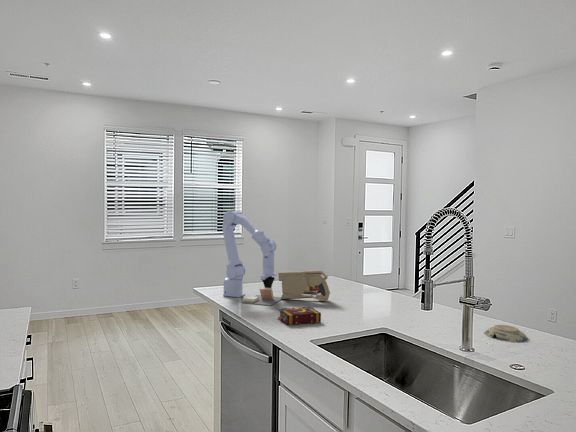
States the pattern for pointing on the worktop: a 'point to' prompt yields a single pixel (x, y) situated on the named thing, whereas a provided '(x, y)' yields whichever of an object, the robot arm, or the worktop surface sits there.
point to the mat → (265, 301)
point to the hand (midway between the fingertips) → (267, 291)
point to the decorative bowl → (506, 333)
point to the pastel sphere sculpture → (312, 289)
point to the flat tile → (250, 299)
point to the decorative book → (299, 315)
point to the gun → (303, 284)
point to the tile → (266, 293)
